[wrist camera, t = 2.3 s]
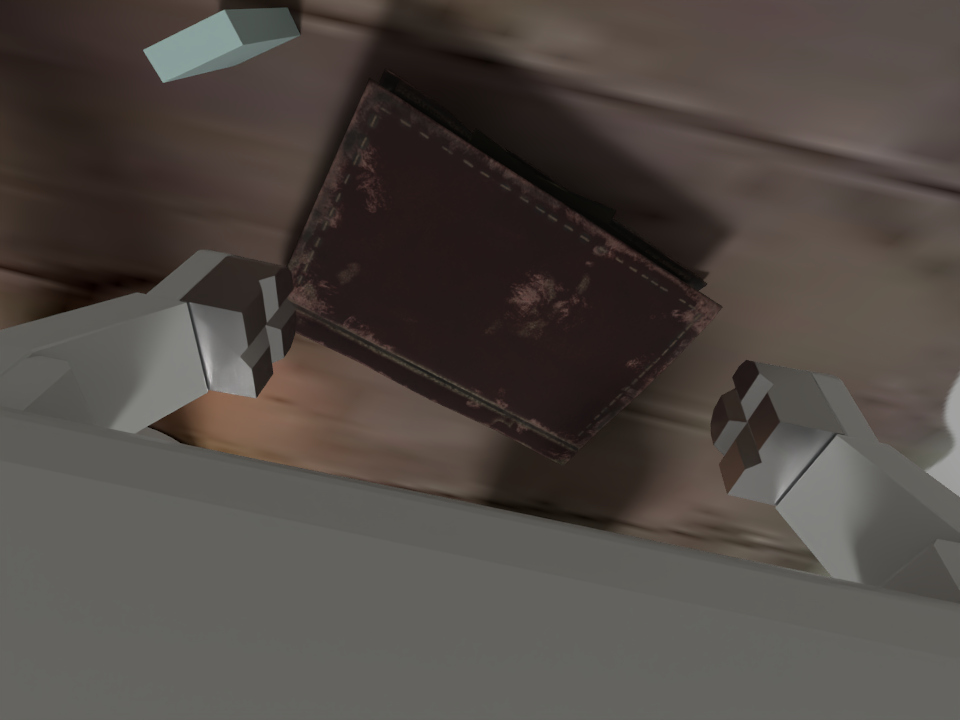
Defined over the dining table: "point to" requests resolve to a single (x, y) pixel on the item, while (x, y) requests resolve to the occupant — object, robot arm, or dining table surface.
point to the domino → (221, 42)
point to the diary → (484, 278)
